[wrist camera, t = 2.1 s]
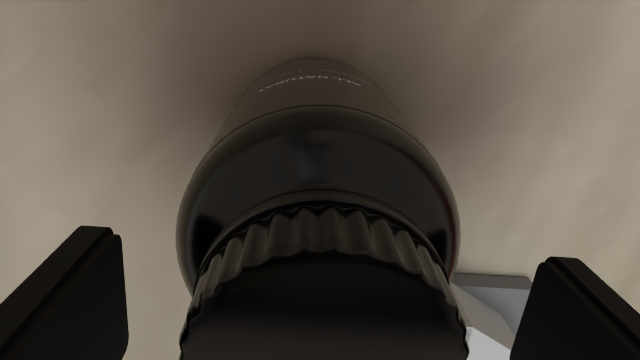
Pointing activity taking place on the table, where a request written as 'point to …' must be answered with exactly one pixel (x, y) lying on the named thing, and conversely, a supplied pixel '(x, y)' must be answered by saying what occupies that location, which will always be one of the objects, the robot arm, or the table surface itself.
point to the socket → (490, 312)
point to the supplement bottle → (319, 229)
